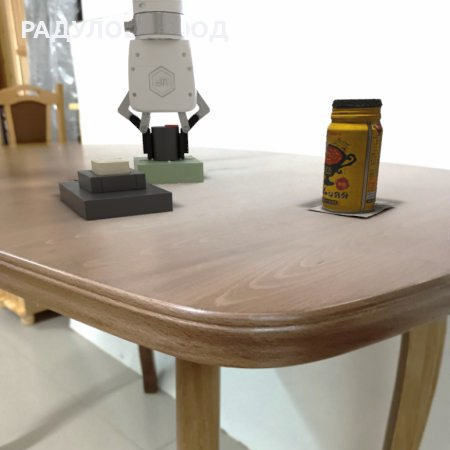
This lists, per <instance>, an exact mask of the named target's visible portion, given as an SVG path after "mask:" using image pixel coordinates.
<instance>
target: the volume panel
mask: <svg viewBox="0 0 450 450" xmlns="http://www.w3.org/2000/svg"><path fill="white" fill-rule="evenodd" d="M132 158H133V169H134V170H137V171H140V172H142V173H145V176H146V182H147V183H150V184H152V185H172V184H196V183H198V184H199V183H204V182H205V179H204V176H205V175H204V162H203V161H201V160H199V159H198V158H196V157H195V156H193V155H192V154H191V155H185V159H180V160H175V161H155V160H153V159H151V160H148V156H133V157H132Z"/></svg>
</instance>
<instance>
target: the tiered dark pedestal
mask: <svg viewBox="0 0 450 450" xmlns="http://www.w3.org/2000/svg"><path fill="white" fill-rule="evenodd" d="M129 171H130V173H124V174H110V175H99V176H98V175H96V174H94V173H92V169H82V170H77V172H76V173H77V180H74V181H62V182H58V189H59V197H60V200H61V201H62V202H63V203H64V204H66V205H67V206H68V207H69V208H71V210H73V211H74V212H75V213H76V214H78V215H79V216H80V217H82V218H83V219H84V220H85V221H86V222H88V221H89V222H91V221H97V220H98V221H99V220H106V219H107V220H108V219H115V218H116V219H117V218H124V217H125V218H126V217H133V216H141V215H142V216H144V215H150V214H151V215H152V214H161V213H169V212H173V211H174V207H173V206H174V205H173V192H172V191H170V190H167V189H164V188H162V187H160V186H157V185H156V184H150V183H147V182H146V176H145V173H142V172H140V171H137V170H134V168H131V167H129Z"/></svg>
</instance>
